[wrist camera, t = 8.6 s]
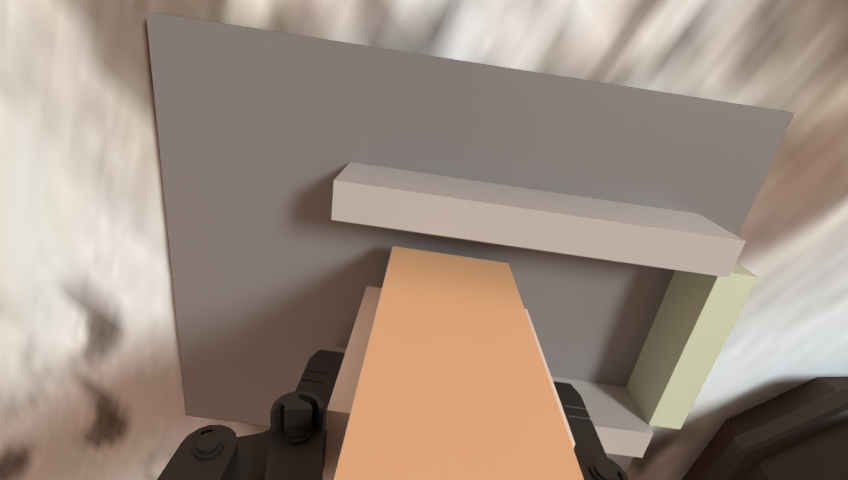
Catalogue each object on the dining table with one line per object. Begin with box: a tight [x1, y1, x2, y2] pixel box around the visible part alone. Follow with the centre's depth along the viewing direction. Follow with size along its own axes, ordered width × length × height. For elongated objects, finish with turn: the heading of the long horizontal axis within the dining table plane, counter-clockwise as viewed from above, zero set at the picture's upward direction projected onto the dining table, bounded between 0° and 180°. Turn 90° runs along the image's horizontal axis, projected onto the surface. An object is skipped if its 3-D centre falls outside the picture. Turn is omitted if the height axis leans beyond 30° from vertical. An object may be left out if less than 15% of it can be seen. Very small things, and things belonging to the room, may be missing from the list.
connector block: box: [334, 246, 584, 480], centre depth 13 cm, size 5×5×12 cm
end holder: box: [146, 12, 794, 473], centre depth 19 cm, size 20×25×4 cm
